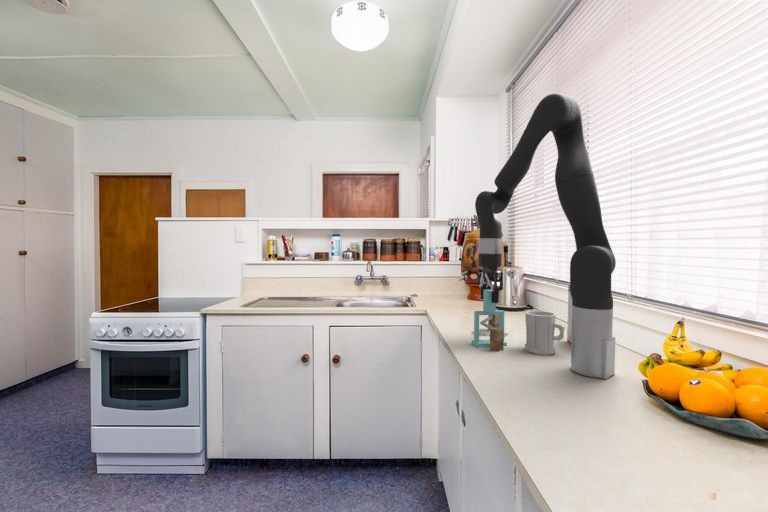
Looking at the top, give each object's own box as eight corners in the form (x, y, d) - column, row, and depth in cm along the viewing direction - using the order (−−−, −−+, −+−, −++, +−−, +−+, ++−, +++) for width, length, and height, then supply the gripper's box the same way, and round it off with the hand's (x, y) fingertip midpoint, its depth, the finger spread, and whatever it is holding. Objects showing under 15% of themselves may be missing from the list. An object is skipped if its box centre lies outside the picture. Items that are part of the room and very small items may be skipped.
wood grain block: (499, 330, 139) (499, 313, 138) (503, 352, 110) (504, 331, 109) (488, 329, 140) (488, 312, 139) (489, 350, 111) (489, 330, 111)
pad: (503, 338, 126) (503, 337, 126) (471, 333, 133) (471, 332, 133) (508, 334, 132) (508, 333, 132) (477, 329, 139) (477, 329, 139)
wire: (495, 316, 137) (495, 314, 137) (498, 332, 112) (498, 330, 112) (480, 315, 139) (480, 313, 139) (480, 331, 113) (480, 328, 113)
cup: (554, 347, 115) (555, 311, 114) (566, 356, 106) (566, 316, 105) (521, 346, 116) (521, 310, 115) (529, 355, 107) (530, 315, 106)
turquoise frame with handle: (506, 346, 116) (507, 290, 115) (477, 347, 115) (478, 291, 114) (499, 342, 121) (500, 289, 120) (471, 343, 119) (472, 289, 119)
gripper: (511, 253, 110) (510, 304, 111) (491, 251, 124) (490, 297, 125) (488, 252, 109) (487, 304, 110) (471, 251, 123) (470, 297, 124)
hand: (489, 300), depth 117 cm, fingers open, 8 cm apart
